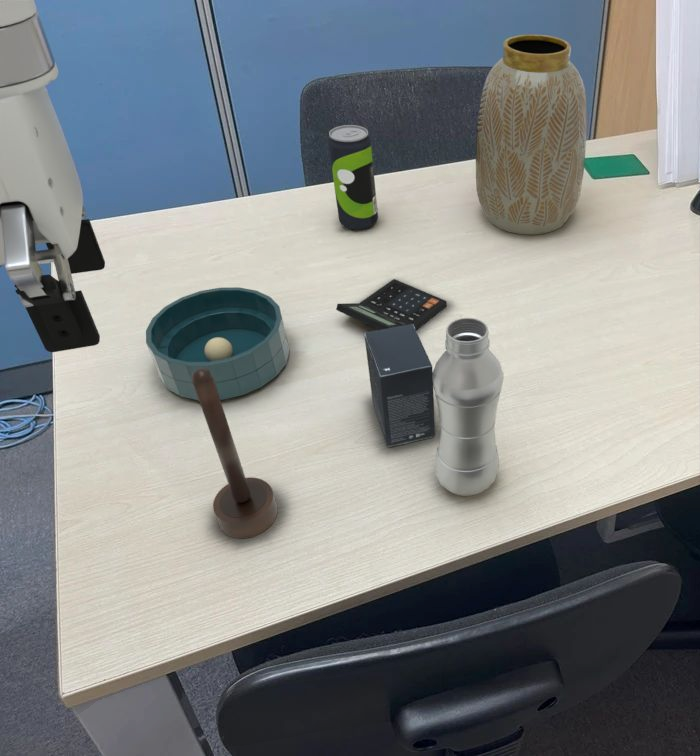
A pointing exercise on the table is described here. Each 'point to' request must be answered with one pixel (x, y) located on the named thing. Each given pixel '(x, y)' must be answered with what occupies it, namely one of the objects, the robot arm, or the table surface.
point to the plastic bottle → (467, 408)
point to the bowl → (225, 320)
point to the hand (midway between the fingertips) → (79, 305)
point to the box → (401, 384)
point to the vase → (531, 136)
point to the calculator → (395, 307)
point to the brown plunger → (233, 472)
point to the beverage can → (353, 176)
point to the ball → (218, 349)
